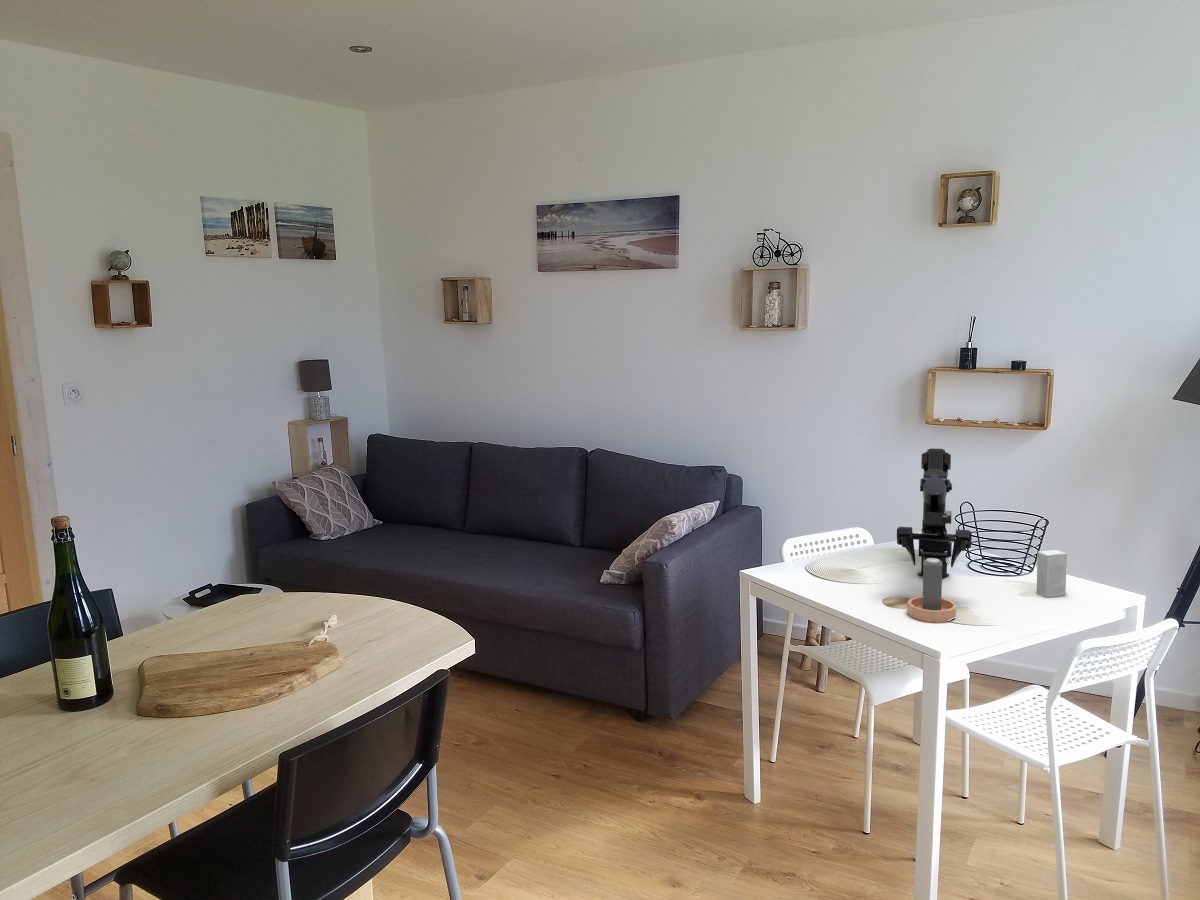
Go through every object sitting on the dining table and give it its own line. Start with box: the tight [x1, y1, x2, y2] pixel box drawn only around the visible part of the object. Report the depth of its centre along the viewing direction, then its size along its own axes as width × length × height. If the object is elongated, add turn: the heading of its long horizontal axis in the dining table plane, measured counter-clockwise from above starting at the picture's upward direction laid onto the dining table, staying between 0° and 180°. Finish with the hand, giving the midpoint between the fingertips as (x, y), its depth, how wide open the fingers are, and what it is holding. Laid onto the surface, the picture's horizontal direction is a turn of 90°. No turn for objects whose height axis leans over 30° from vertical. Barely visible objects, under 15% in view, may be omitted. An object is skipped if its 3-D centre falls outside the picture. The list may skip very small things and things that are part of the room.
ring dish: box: [906, 596, 958, 624], centre depth 222 cm, size 12×12×3 cm
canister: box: [922, 558, 943, 610], centre depth 221 cm, size 4×4×14 cm
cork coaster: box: [881, 596, 910, 610], centre depth 232 cm, size 9×9×1 cm
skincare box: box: [1036, 549, 1068, 599], centre depth 233 cm, size 6×4×12 cm
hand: (932, 565), depth 227 cm, fingers open, 9 cm apart
